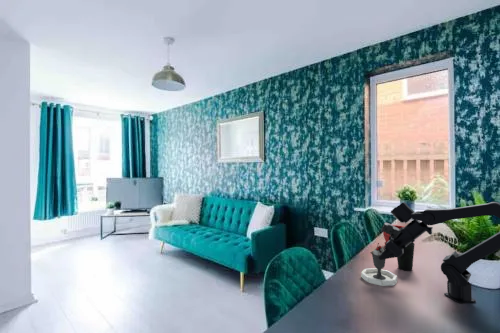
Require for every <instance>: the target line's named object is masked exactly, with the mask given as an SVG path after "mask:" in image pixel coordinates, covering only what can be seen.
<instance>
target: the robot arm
mask: <svg viewBox="0 0 500 333" xmlns="http://www.w3.org/2000/svg"><path fill="white" fill-rule="evenodd" d="M390 214H391V215H392V216H393V217H394V218H396V219H397V221H398V222H400V223H401V224H404V223H405V224H406V225H405V226H404V227H403V228H402V227H401V228H400V229H399V228H397V227H395V226H393V225H394V224H391V223H389V222H384V223H383V224H382V228H381V229H380V231H382V233H383V232H386V233H388V234H390V236H389V241H388V242H387V243H386V244H385V243H384V248H383V249H385V250H384V251H383V253H382V254H381V255H380V256H379V257H378V258H379V259H380V260H383V259H385V260H389V259H393V258H397V257H400V256H402V255H403V248H404V249H405V248H406V246H407V245H409V244H410V243H411V242H412V243H414V242H416V240H417V239H418V238H419V237H421V236H422V235H423V234H424V233H428V234H429V235H432V234H433V226H435V225H438V224H442V223H445V222H448V221H453V220H459V219H460V220H461V219H469V218H477V217H484V216H486V217H487V216H495V217H497V218H499V219H500V202H498V201H491V202H488V203H481V204H473V205H468V206H467V205H466V206H460V207H454V208H453V207H451V208H443V207H441V208H440V207H439V208H438V207H437V208H436V207H434V208H433V207H432V208H431V207H429V208H427V209H425V210H422V211H421V210H420V211H419V210H418V211H415V210H413V209H412V208H411V207H410V206H409V205H408V203H406V202H405V201H404V202H401V203H400V204H399V205H396V207H393V209H392V210H391V211H390ZM402 247H403V248H402ZM498 250H500V231H498V232H497V233H495V234H493V235H491V236H490V237H488V238H486V239H485V240H483V241H481V242H480V243H478V244H476V245H475V246H473V247H472V248H469V249H468V250H466V251H465V252H461V253H458V252H457V251H456V250H454V252H452V253H451V254H449V255H445V257H444V258H443V259H442V263H441V265H440V271H441V272H442V273H443V275H445V276H446V279H447V281H446V284H447V288H446V289H447V292H444V293H443V294H444V295H445V296H446V297H448V298H449V299H452V300H453V301H455V302H456V303H459V304H466V303H476V302H477V301H476V299H474V298H472V296H473V295H472V283H470V278H471V276H472V274H471V272H470V271H468V269H469V268H470V266H471V265H473V264H475V263H477V262H478V261H480V260H481V259H484V258H485V257H487V256H489V255H491V254H493V253H495V252H496V251H498Z"/></svg>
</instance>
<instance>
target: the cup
mask: <svg viewBox="0 0 500 333" xmlns="http://www.w3.org/2000/svg"><path fill="white" fill-rule="evenodd" d="M402 248H403V247H402ZM414 252H415V243H414V242H413V243H412V242H411V243H410V244H409V245H407V246H406V248H405V249H404V248H403V255H402V256H400V257H396V260H397V268H398V270H402V271H404V272H409V271H410V272H411V271H412V270H413V266H414V254H415V253H414Z"/></svg>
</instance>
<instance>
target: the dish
mask: <svg viewBox="0 0 500 333" xmlns="http://www.w3.org/2000/svg"><path fill="white" fill-rule="evenodd" d="M377 273H378V269H377V268H376V267H372V268H371V267H370V268H364V269H363V270H362V271H361V272H360V274H361V278H362V279H363V280H364V281H365V282H366V283H369V284H371V285H375V286H380V287H391V286H396V284H397V282H398V275H397V274H395V273H393V272H391V271H389V270H386V269H384V268H383V269H381V275H382V276H384V277H386V279H385V280H380V279H376V278H374V277H373V275H377Z"/></svg>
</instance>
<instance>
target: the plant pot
mask: <svg viewBox="0 0 500 333" xmlns="http://www.w3.org/2000/svg"><path fill="white" fill-rule="evenodd" d="M392 225H393V226H395V227H397V228H399V229H400V228H401V227H402V228H403V227H405V226H402V225H398V224H397V225H394V224H392ZM382 233H383V234H382V235H383V238H384V241H385V242H384V245H385V244H386V243H387V242H388V241H389V236H390V234H388V233H386V232H383V231H382Z"/></svg>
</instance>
